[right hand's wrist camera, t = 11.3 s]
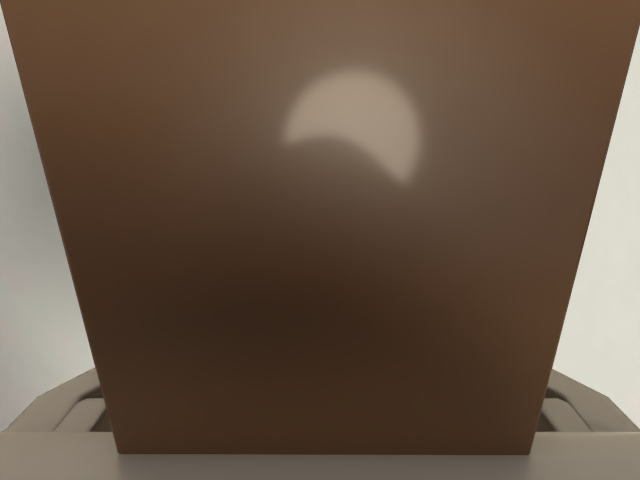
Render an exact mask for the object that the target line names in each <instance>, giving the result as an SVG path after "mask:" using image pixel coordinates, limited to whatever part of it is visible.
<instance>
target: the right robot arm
mask: <svg viewBox="0 0 640 480" xmlns="http://www.w3.org/2000/svg"><path fill="white" fill-rule="evenodd" d="M0 480H640V429H639V428H638V427H637V426H636V425H635V424H634V423H633V422H632V421H631V420H630V419H629V418H628V417H627V416H626V415H625V414H624V413H623V412H622V411H621V410H620V409H619V408H618V407H617V406H616V405H615V404H614V403H613V402H612V401H611V400H610V399H609V398H608V397H607V396H605V395H603V394H601V393H599V392H597V391H595V390H593V389H591V388H589V387H587V386H585V385H583V384H581V383H579V382H577V381H575V380H573V379H571V378H569V377H567V376H565V375H563V374H561V373H559V372H557V371H555V370H553V369H552V370H551V374H550V378H549V382H548V386H547V390H546V394H545V398H544V402H543V406H542V409H541V413H540V417H539V421H538V425H537V429H536V433H535V437H534V441H533V445H532V449H531V453H530V454H529V455H262V454H119V453H118V452H117V448H116V444H115V440H114V437H113V433H112V429H111V425H110V421H109V417H108V414H107V410H106V406H105V402H104V398H103V394H102V391H101V387H100V383H99V379H98V375H97V371H96V368H93V369H91V370H89V371H87V372H85V373H83V374H81V375H79V376H77V377H75V378H73V379H71V380H69V381H67V382H65V383H64V384H62V385H60V386H58V387H56V388H54V389H52V390H50V391H48V392H46V393H44V394H42V395H40V396H38V397H37V398H36V399H35V400H34V401H33V402H32V403H31V404H30V405H29V406H28V407H27V408H26V409H25V410H24V411H23V412H22V413H21V414H20V415H19V416H18V417H17V418H16V419H15V420H14V421H13V423H12V424H11V425H10V426H9V427H8V428H7V429H6V430H5V431H4V432H0Z"/></svg>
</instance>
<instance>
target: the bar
mask: <svg viewBox="0 0 640 480" xmlns="http://www.w3.org/2000/svg"><path fill="white" fill-rule="evenodd" d="M0 3H1V7H2V11H3V15H4V19H5V23H6V26H7V30H8V34H9V38H10V42H11V46H12V49H13V53H14V57H15V61H16V65H17V69H18V72H19V76H20V80H21V84H22V88H23V92H24V95H25V99H26V103H27V107H28V111H29V115H30V118H31V122H32V126H33V130H34V134H35V138H36V141H37V145H38V149H39V153H40V157H41V161H42V164H43V168H44V172H45V176H46V180H47V184H48V187H49V191H50V195H51V199H52V203H53V207H54V210H55V214H56V218H57V222H58V226H59V230H60V233H61V237H62V241H63V245H64V249H65V253H66V256H67V260H68V264H69V268H70V272H71V276H72V279H73V283H74V287H75V291H76V295H77V299H78V302H79V306H80V310H81V314H82V318H83V322H84V325H85V329H86V333H87V337H88V341H89V345H90V348H91V352H92V356H93V360H94V364H95V368H96V371H97V375H98V379H99V383H100V387H101V391H102V394H103V398H104V402H105V406H106V410H107V414H108V417H109V421H110V425H111V429H112V433H113V437H114V440H115V444H116V448H117V452H118V453H119V454H262V455H529V454H530V453H531V449H532V445H533V441H534V437H535V433H536V429H537V425H538V421H539V417H540V413H541V409H542V406H543V402H544V398H545V394H546V390H547V386H548V382H549V378H550V374H551V370H552V366H553V362H554V359H555V355H556V351H557V347H558V343H559V339H560V335H561V331H562V327H563V323H564V319H565V315H566V312H567V308H568V304H569V300H570V296H571V292H572V288H573V284H574V280H575V276H576V272H577V269H578V265H579V261H580V257H581V253H582V249H583V245H584V241H585V237H586V233H587V229H588V225H589V222H590V218H591V214H592V210H593V206H594V202H595V198H596V194H597V190H598V186H599V182H600V178H601V175H602V171H603V167H604V163H605V159H606V155H607V151H608V147H609V143H610V139H611V135H612V132H613V128H614V124H615V120H616V116H617V112H618V108H619V104H620V100H621V96H622V92H623V88H624V85H625V81H626V77H627V73H628V69H629V65H630V61H631V57H632V53H633V49H634V45H635V41H636V38H637V34H638V30H639V26H640V0H0Z"/></svg>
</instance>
